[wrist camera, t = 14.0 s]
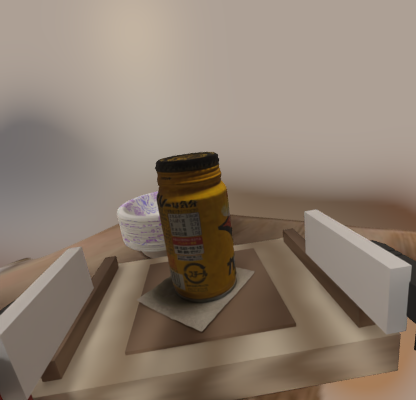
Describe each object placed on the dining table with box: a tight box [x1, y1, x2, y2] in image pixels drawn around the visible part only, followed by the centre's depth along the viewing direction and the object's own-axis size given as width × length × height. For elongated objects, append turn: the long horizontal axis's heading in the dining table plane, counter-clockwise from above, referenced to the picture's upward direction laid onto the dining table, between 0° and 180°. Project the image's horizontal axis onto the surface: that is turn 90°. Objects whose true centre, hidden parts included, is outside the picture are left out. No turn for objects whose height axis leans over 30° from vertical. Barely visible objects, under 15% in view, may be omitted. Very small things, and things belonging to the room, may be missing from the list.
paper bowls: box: [117, 192, 167, 258], centre depth 40 cm, size 15×15×8 cm
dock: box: [31, 229, 401, 400], centre depth 24 cm, size 24×16×4 cm, turn 94°
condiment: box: [137, 152, 255, 332], centre depth 22 cm, size 7×8×12 cm
